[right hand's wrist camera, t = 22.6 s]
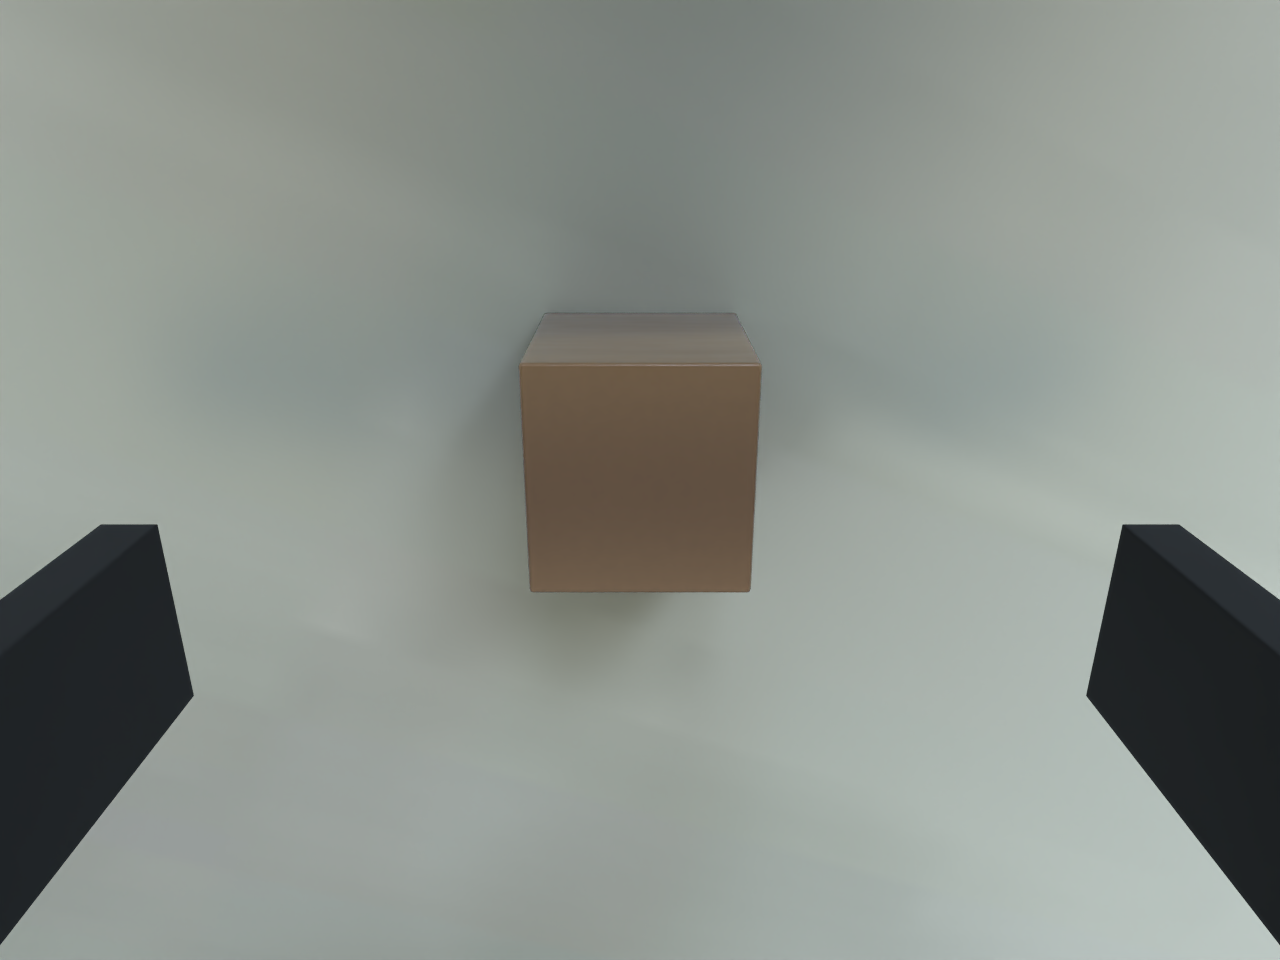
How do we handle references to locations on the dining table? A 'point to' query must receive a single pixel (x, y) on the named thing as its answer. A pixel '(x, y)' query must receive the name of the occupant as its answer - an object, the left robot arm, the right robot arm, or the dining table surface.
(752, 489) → the block
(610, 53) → the dining table surface
